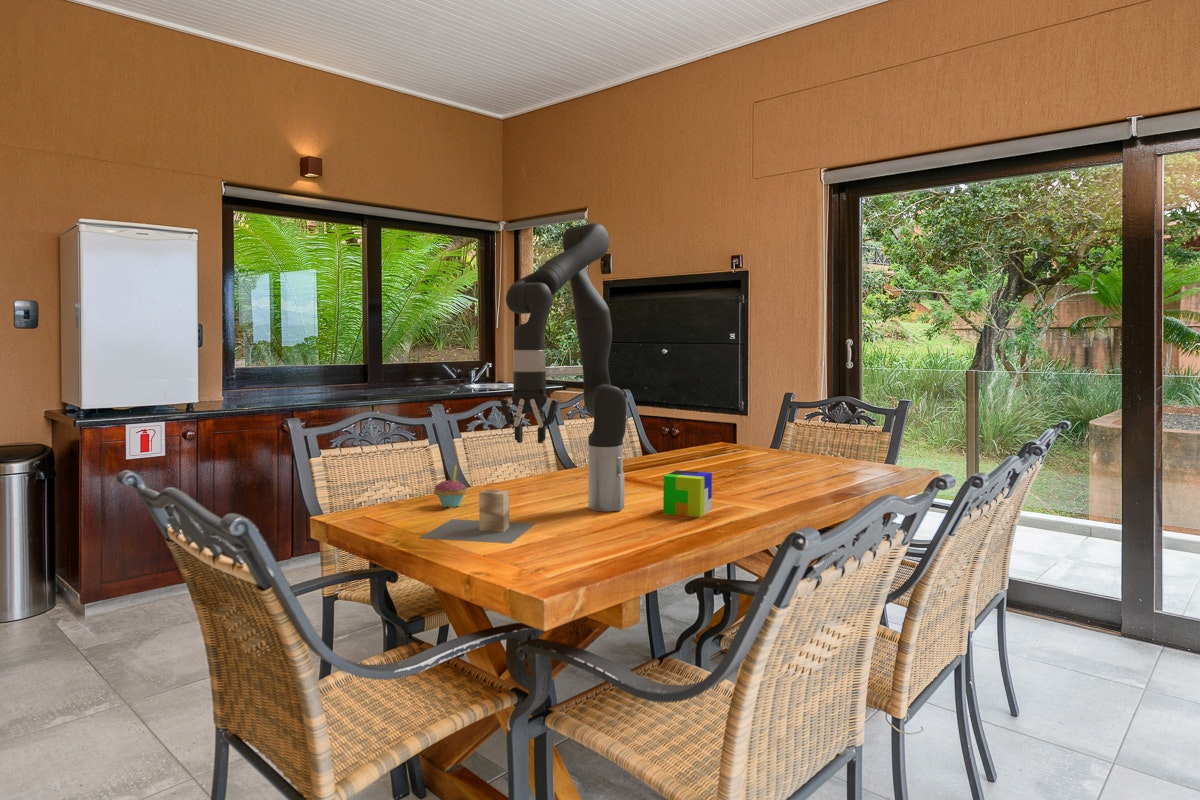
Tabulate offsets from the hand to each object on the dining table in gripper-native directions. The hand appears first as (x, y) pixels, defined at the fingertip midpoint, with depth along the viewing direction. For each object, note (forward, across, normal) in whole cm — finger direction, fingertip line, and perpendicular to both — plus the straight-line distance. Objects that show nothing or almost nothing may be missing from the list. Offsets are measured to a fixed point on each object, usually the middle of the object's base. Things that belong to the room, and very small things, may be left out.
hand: (530, 442), depth 179 cm
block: (+21, +9, 0) cm, 23 cm away
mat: (+21, +12, +2) cm, 25 cm away
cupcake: (+22, +30, -23) cm, 43 cm away
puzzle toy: (+22, -34, -30) cm, 50 cm away
